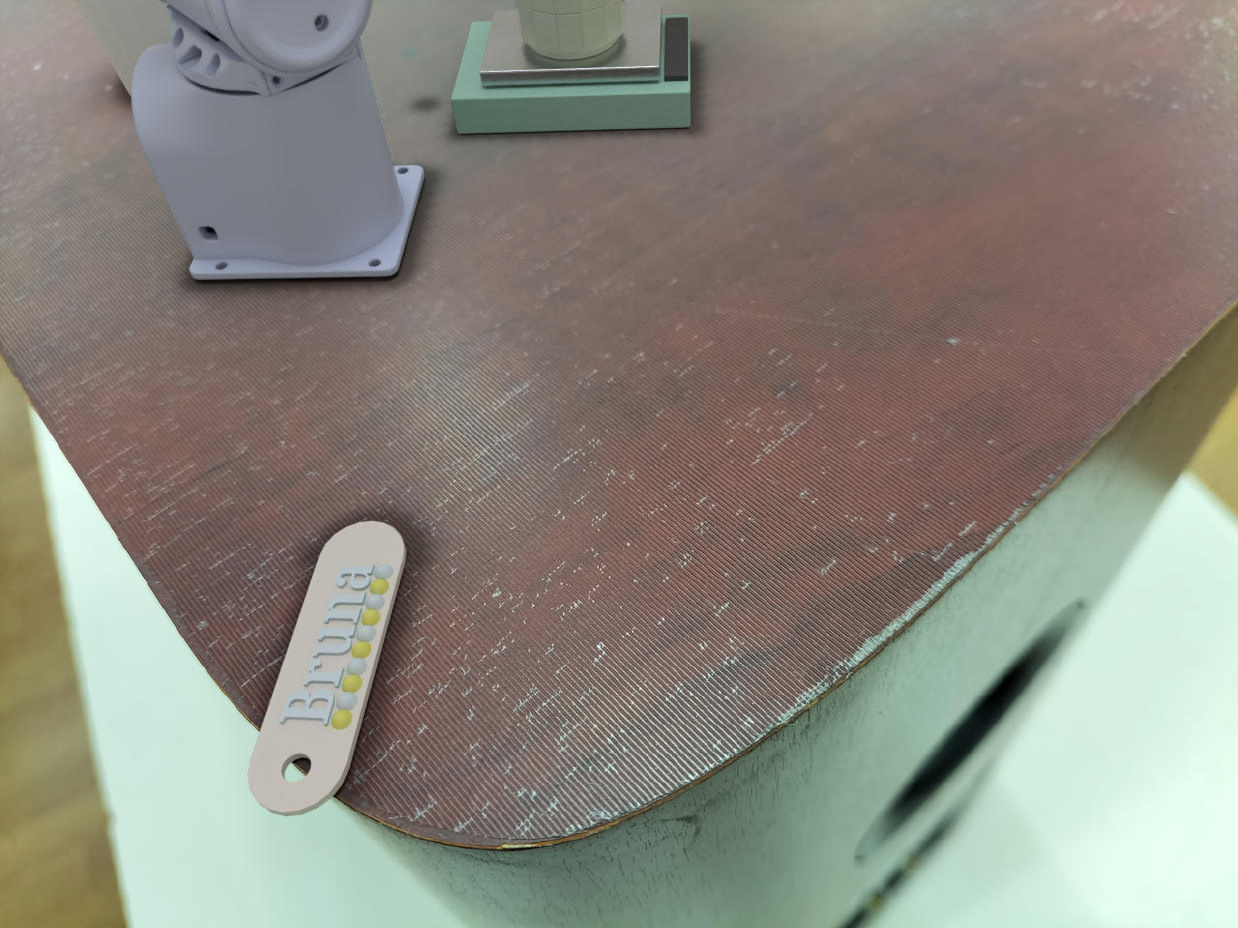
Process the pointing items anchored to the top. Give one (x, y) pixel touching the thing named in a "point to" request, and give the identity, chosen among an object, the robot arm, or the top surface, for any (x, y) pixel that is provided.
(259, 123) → the robot arm
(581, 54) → the green faceted cup
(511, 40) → the pan
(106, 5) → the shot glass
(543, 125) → the scale
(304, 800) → the keychain
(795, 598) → the top surface
